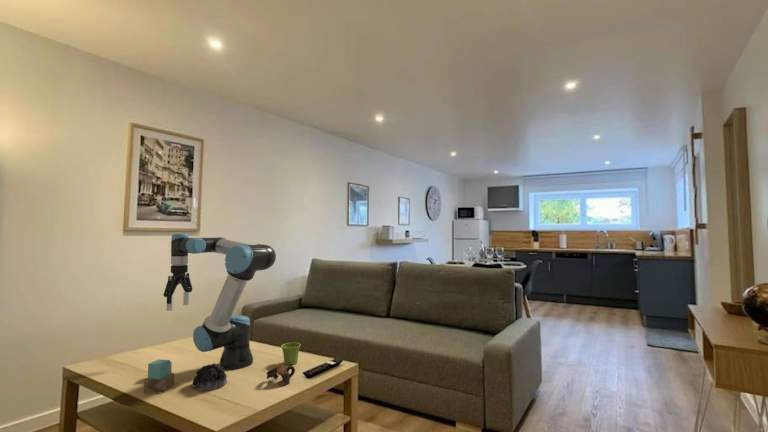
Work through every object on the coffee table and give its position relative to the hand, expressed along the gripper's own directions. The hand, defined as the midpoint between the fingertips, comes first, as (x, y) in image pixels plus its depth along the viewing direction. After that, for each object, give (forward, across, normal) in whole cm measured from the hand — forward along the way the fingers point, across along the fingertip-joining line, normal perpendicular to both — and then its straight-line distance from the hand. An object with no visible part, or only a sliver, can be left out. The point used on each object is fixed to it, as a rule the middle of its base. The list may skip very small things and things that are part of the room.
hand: (178, 307), depth 188 cm
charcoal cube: (+27, +19, +5) cm, 33 cm away
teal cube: (+22, +30, +11) cm, 39 cm away
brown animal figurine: (+27, +21, +59) cm, 68 cm away
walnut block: (+27, +30, +11) cm, 42 cm away
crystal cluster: (+27, +26, +30) cm, 48 cm away
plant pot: (+27, -3, +56) cm, 62 cm away
